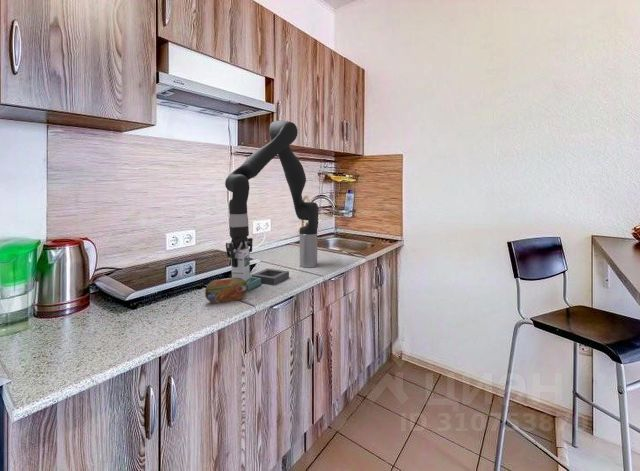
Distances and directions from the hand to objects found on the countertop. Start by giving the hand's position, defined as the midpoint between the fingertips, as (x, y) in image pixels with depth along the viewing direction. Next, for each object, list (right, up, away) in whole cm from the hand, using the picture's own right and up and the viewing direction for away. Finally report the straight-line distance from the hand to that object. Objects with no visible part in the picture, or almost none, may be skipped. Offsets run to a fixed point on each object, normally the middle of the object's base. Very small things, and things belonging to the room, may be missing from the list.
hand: (240, 264), depth 128 cm
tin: (-2, -12, -13) cm, 18 cm away
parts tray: (0, -9, +2) cm, 10 cm away
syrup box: (0, -8, +1) cm, 8 cm away
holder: (+10, -8, +12) cm, 18 cm away
